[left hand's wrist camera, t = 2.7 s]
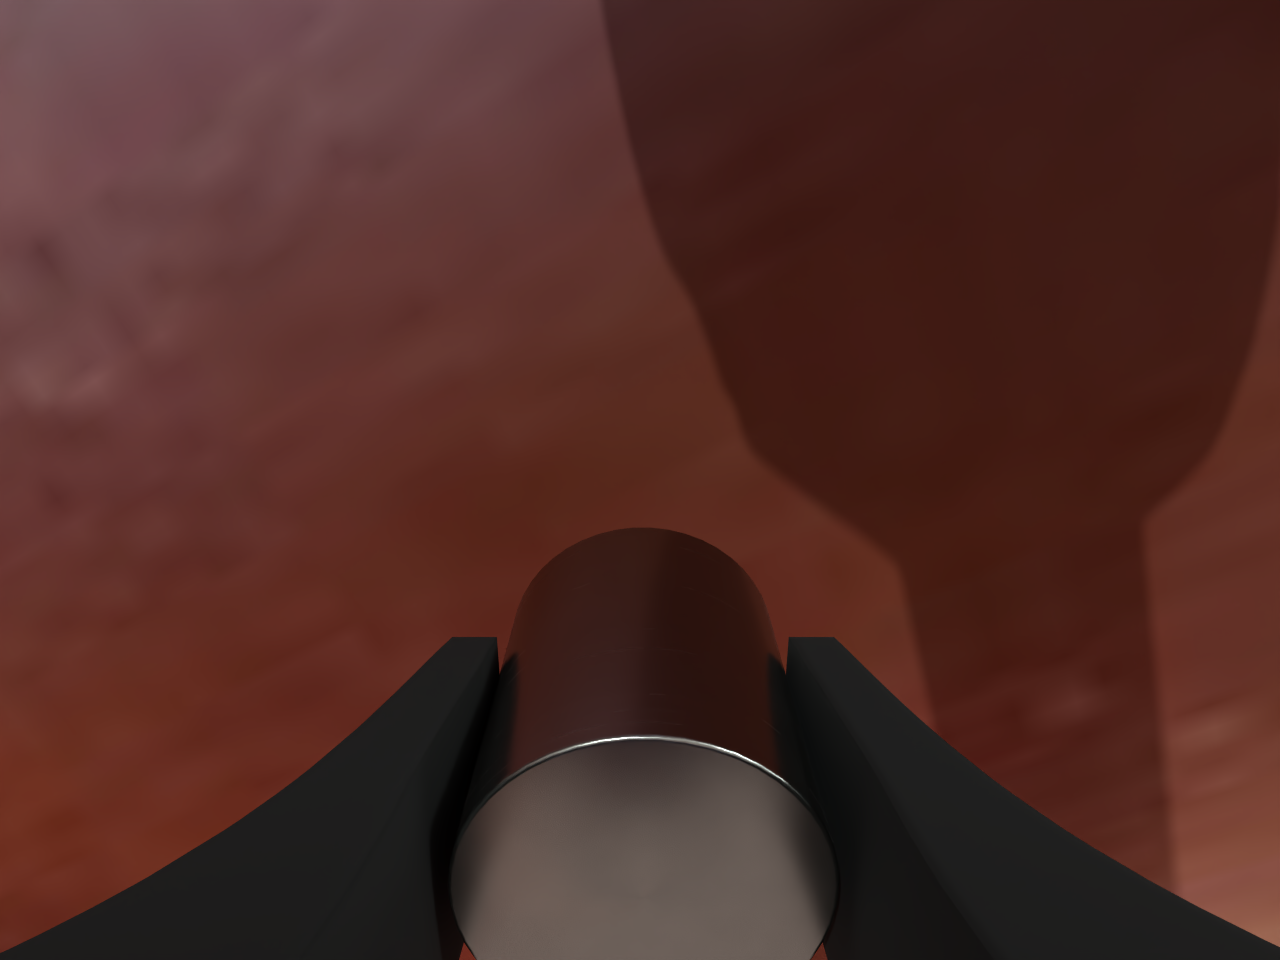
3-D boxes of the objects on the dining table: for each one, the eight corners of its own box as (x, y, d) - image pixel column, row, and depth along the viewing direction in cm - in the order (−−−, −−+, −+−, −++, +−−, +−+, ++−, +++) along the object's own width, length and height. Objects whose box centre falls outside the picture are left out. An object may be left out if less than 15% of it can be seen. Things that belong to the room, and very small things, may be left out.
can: (675, 785, 14) (692, 1078, 9) (466, 674, 13) (377, 937, 8) (823, 611, 12) (923, 855, 8) (603, 477, 12) (581, 667, 7)
